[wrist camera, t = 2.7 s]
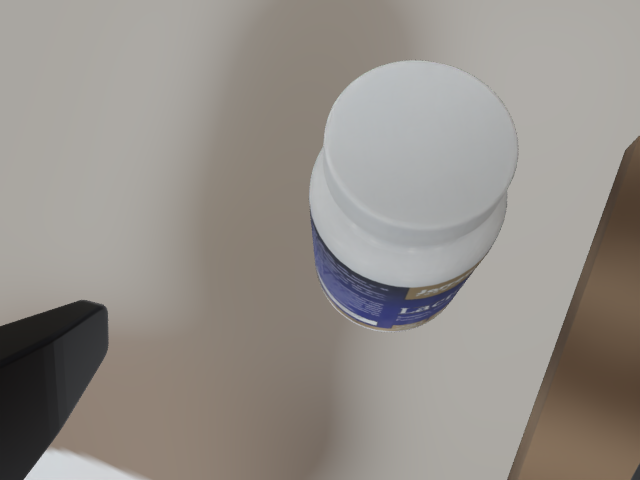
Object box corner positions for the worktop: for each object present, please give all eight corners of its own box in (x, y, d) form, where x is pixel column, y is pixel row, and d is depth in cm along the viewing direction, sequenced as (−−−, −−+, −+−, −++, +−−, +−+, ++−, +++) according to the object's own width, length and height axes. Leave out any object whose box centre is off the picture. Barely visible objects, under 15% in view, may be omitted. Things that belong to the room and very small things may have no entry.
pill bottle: (410, 364, 21) (463, 300, 12) (288, 282, 23) (251, 167, 13) (485, 246, 23) (584, 107, 14) (367, 175, 24) (383, 4, 15)
